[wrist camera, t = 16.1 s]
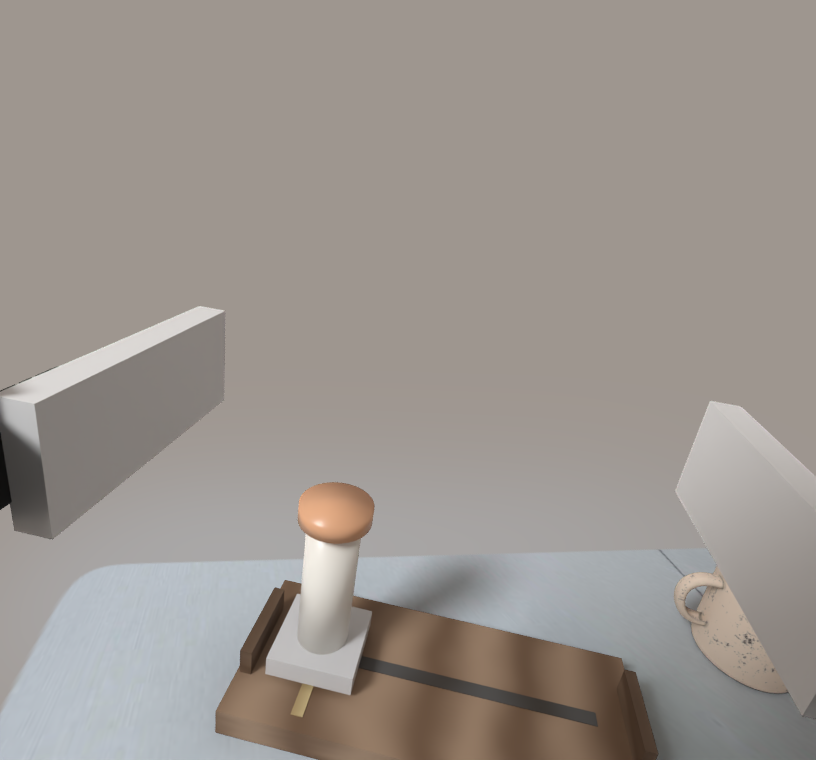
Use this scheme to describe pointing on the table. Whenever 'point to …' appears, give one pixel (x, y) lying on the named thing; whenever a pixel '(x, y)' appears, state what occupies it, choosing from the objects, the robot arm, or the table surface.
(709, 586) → the teacup with lid
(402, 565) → the table surface
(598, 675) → the fader track
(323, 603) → the fader
